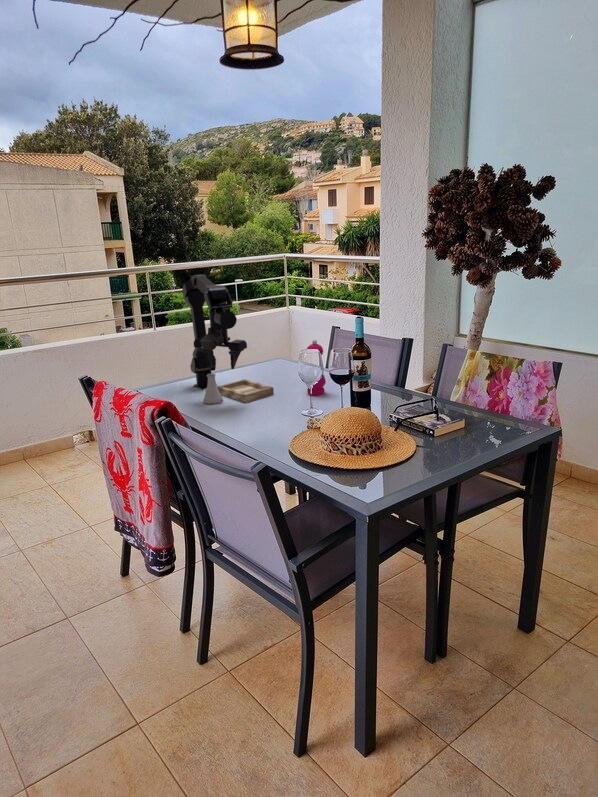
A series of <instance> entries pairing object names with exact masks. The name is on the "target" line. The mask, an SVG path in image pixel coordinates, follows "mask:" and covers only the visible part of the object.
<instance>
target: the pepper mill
mask: <svg viewBox="0 0 598 797" xmlns="http://www.w3.org/2000/svg"><path fill="white" fill-rule="evenodd" d="M311 343H312V344H309V345H308V346H307V347H306V350H307V349H318V350H319V351H320V353H321V355H322V356H323V354H324V348H323V346H322V345H320V344H318V340H316V339H313V340H312V342H311ZM305 385H306V386H307V389H306V391H307V395H309V394H310V389H309V386H308V385H307V384H306V383H305ZM325 385H326V377H325V375H324V374H323V375H322V378H321V379H320V380H319V381H318V383H316V384H315V385H313V388H312V395H311V396H313V395H315V396H317V395H318V396H322V394H323V395H325V387H324V386H325ZM315 396H314V397H315ZM318 396H317V397H318Z"/></svg>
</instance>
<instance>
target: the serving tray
mask: <svg viewBox="0 0 598 797" xmlns="http://www.w3.org/2000/svg"><path fill="white" fill-rule="evenodd" d="M217 387H218V390H219V392H220V394H221V396H223V395H224V396H223V397H226V396H227V397H226V398H229V397H230V399H232V398H233V399H232V400H235V399H236V400H235V401H238V400H239V402H241V401H242V403H244V402H245V404H248V403H252V402H254V401H258V400H261V399H264V398H268V397H271V396H274V395H275V393H274V387H273V386H270V385H266V384H263V383H260V382H259V383H258V382H255V381H253V380H248V379H247V378H246V379H241V380H237V381H234V382H230V383H226V384H222V385H219V386H218V385H217ZM247 402H248V403H247Z"/></svg>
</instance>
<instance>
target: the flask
mask: <svg viewBox="0 0 598 797" xmlns="http://www.w3.org/2000/svg"><path fill="white" fill-rule="evenodd" d="M216 376H217V375H216V373H211V374H207V377H208V385H207V388H205V389H206V390H205V393H204V398H203V400H202V401H203V404H206V405H215V404H220V403H223V401H224V399H223V397H222V396H223V395H221V394H220V392H219V390H218V385H217V382H216Z"/></svg>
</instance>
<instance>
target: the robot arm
mask: <svg viewBox="0 0 598 797" xmlns="http://www.w3.org/2000/svg"><path fill="white" fill-rule="evenodd" d="M181 293H182V296H183V297H184V301H185V303H186V304H187V306H188V307H189V308H190V314H191V321H192V327H193V328H192V329H193V336H194V340H193V348H194V350H193V351H192V358H191V362H190V365H189V366H190V370H191V373H193V374H195V378H196V379H195V380H196V383H195V384H193V387H195V388H197V389H198V388H199V389H201V390H204V389H207V385H208V377H207V374H212V372H213V371H216V367H217V359H216V356H215V355H214V353H215V352H214V350H215V349H216V348H217V347H220V348H222V347H223V348H228V350H229V351H228V354H229V356H230V369H231V370H235V367H236V365H237V362H238V359H239V356H240V355H241V352H243V351H245V349H248V344H247V341H246V340H244V339H234V340H231V337H230V336H229V334H228V330H231V329H233V328H234V327H235V326H236V325H237V316H236V314H235V313H234V312H233V311H231V308H233V300H232V298H231V294H230V292H229V290H228V289H227V287H226V286H224V285H220V284H215V283H213V282H212V281H211V280H210V279H209V278H207V275H206V274H193V275H191V277H190V278H189V279H188V280H186V282H184V283H183V286H182V290H181ZM205 304H206V305H207V307H208V310H209V311H208V313H209V327H208V329H206V322H205V314H204V305H205Z"/></svg>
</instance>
